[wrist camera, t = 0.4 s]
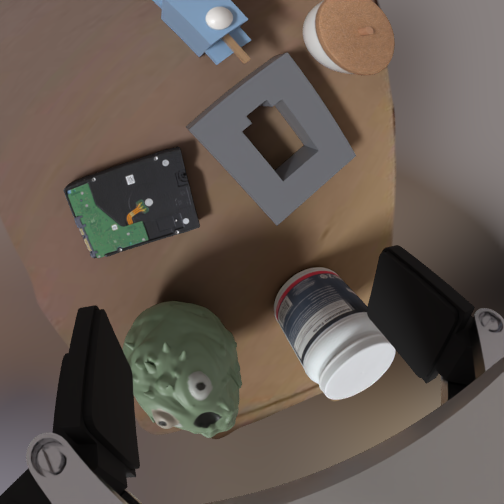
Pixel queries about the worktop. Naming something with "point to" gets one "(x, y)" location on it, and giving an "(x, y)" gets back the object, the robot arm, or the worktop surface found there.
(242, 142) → the plate
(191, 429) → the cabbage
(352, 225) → the worktop surface
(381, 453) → the robot arm
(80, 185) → the disk drive
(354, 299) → the supplement tub
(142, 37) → the worktop surface
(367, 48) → the lidded jar
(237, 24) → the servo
